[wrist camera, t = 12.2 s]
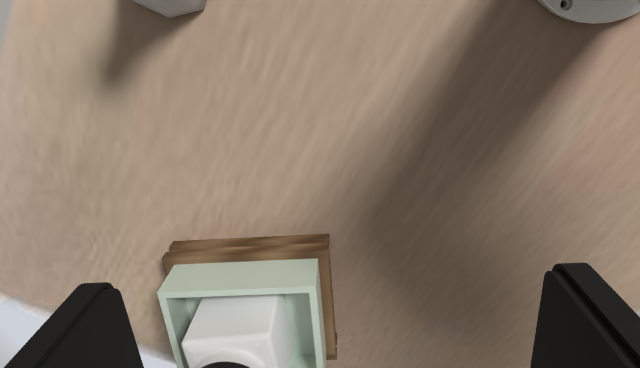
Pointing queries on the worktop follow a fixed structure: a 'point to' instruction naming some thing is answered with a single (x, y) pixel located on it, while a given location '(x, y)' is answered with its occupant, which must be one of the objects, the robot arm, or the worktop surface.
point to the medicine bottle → (239, 333)
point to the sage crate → (249, 279)
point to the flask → (173, 6)
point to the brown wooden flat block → (265, 252)
